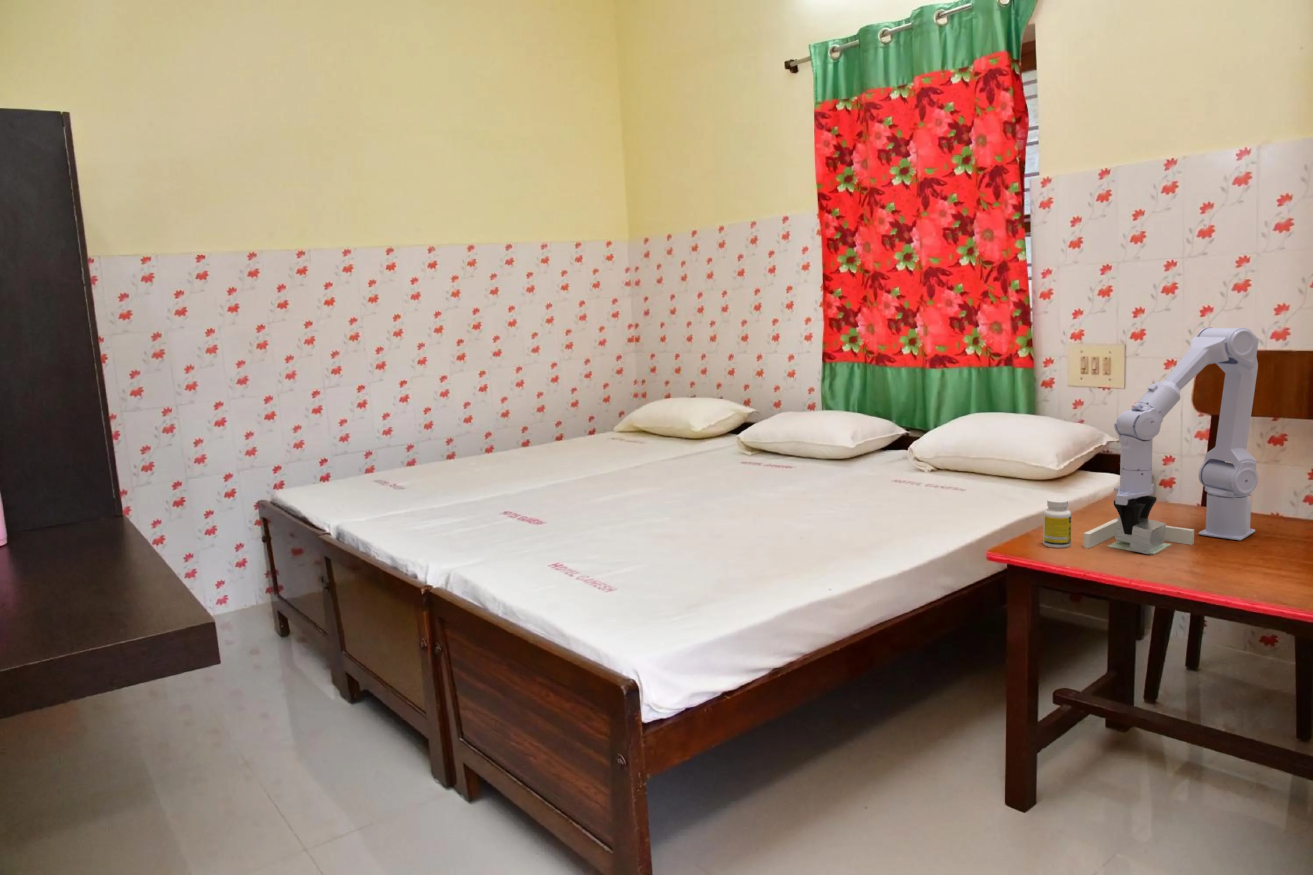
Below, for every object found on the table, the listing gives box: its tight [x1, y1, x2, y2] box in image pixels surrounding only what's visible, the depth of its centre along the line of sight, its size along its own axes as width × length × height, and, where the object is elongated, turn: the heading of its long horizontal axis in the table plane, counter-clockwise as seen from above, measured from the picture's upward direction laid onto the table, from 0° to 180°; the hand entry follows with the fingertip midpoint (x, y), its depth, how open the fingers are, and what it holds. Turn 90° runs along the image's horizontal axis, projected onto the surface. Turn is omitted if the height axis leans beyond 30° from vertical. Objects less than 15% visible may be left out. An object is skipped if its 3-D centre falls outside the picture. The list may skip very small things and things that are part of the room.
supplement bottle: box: [1042, 497, 1072, 549], centre depth 186 cm, size 5×5×10 cm
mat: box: [1107, 540, 1172, 555], centre depth 182 cm, size 9×9×1 cm
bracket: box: [1114, 516, 1167, 555], centre depth 180 cm, size 8×8×5 cm
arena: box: [1083, 518, 1195, 549], centre depth 182 cm, size 16×16×3 cm
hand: (1134, 532), depth 183 cm, fingers closed on bracket, 3 cm apart
